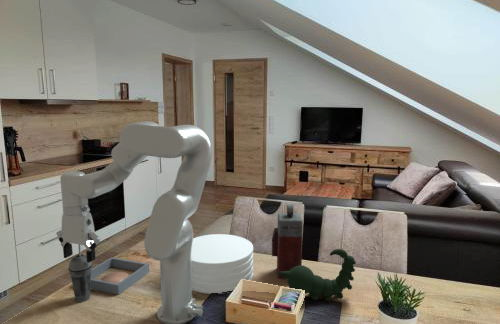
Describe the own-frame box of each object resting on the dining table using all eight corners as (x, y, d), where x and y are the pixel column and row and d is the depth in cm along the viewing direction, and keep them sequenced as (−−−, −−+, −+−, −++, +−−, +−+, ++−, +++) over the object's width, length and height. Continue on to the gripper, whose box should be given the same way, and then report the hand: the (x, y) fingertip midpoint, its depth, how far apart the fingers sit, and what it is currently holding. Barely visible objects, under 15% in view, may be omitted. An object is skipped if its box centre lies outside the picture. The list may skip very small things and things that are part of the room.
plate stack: (256, 261, 153) (256, 235, 151) (249, 296, 125) (249, 265, 123) (191, 258, 155) (190, 232, 153) (170, 291, 128) (169, 261, 126)
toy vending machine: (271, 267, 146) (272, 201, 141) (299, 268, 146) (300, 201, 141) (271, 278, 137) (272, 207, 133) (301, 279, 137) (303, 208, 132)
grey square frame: (149, 272, 142) (149, 263, 142) (118, 294, 125) (118, 285, 125) (112, 265, 148) (111, 257, 147) (78, 286, 131) (77, 277, 131)
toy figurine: (345, 295, 129) (275, 287, 129) (353, 245, 125) (281, 237, 126) (351, 310, 119) (276, 302, 120) (360, 256, 116) (282, 248, 117)
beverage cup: (69, 305, 119) (64, 248, 115) (73, 294, 126) (68, 239, 122) (92, 302, 121) (88, 245, 117) (95, 291, 127) (92, 237, 124)
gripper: (105, 208, 119) (108, 257, 121) (64, 203, 124) (68, 250, 127) (88, 215, 112) (92, 267, 114) (45, 209, 117) (50, 259, 120)
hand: (79, 258), depth 121 cm, fingers open, 9 cm apart
